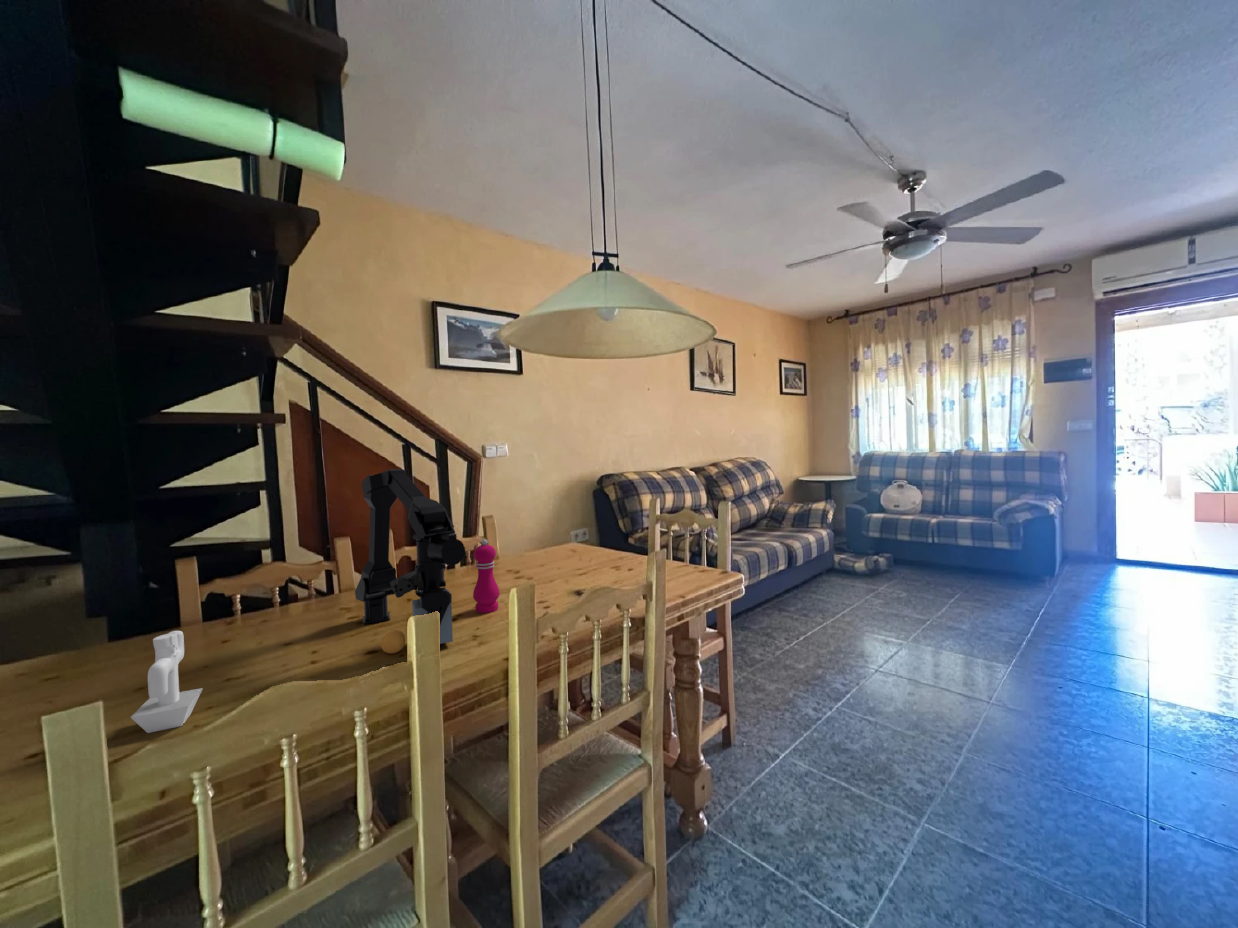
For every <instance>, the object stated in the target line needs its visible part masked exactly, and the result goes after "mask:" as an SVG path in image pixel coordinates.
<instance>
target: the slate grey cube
mask: <svg viewBox="0 0 1238 928" xmlns="http://www.w3.org/2000/svg"><path fill="white" fill-rule="evenodd" d="M411 612H412V613H411V615H412V616H415V615H424V614H428V611H426V610H425V609H422V608H421V605H420V598H417V599H412V600H411ZM452 612H453V610H452V603H450V605H449V606H448V608H447V610H446V612H445V615H444V617H443V619H442V622H441V624H440V644H439V645H441V644H446V643H451V642H454V641H453V640H454V639H453V636H454V635H453V613H452Z"/></svg>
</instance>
